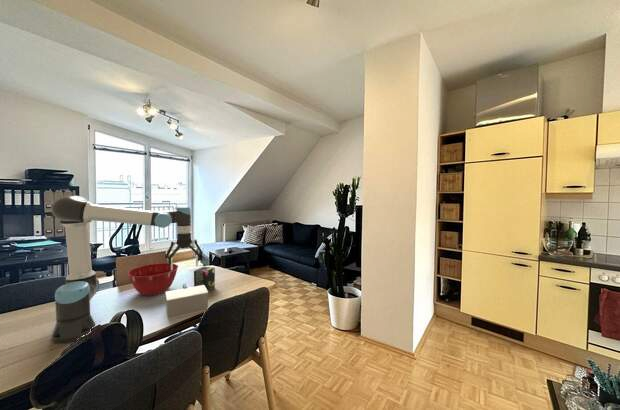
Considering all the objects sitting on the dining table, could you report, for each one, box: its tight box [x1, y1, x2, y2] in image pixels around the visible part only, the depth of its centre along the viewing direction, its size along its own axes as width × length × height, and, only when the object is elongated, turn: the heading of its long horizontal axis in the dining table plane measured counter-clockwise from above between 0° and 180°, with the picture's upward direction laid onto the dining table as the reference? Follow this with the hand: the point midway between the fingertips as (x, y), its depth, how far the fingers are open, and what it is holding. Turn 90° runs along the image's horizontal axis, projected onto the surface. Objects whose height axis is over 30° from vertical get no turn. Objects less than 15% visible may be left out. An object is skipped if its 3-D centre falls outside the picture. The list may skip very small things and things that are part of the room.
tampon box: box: [193, 266, 216, 293], centre depth 172 cm, size 11×9×15 cm
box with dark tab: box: [164, 283, 209, 301], centre depth 146 cm, size 21×18×6 cm
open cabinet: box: [165, 292, 209, 320], centre depth 144 cm, size 20×12×10 cm, turn 123°
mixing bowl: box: [127, 262, 179, 297], centre depth 168 cm, size 28×28×15 cm
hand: (184, 267), depth 152 cm, fingers open, 13 cm apart
